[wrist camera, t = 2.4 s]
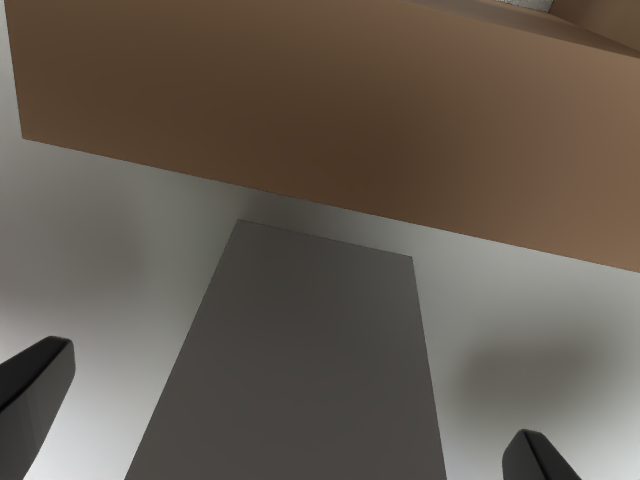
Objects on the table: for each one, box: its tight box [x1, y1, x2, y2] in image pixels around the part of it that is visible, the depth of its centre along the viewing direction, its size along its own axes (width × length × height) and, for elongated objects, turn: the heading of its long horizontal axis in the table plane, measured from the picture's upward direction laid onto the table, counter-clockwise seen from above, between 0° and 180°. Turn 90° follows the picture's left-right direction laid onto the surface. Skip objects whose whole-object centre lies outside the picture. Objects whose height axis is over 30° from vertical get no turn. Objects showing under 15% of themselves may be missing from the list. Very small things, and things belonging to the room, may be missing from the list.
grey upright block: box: [124, 220, 447, 480], centre depth 9 cm, size 4×4×7 cm
